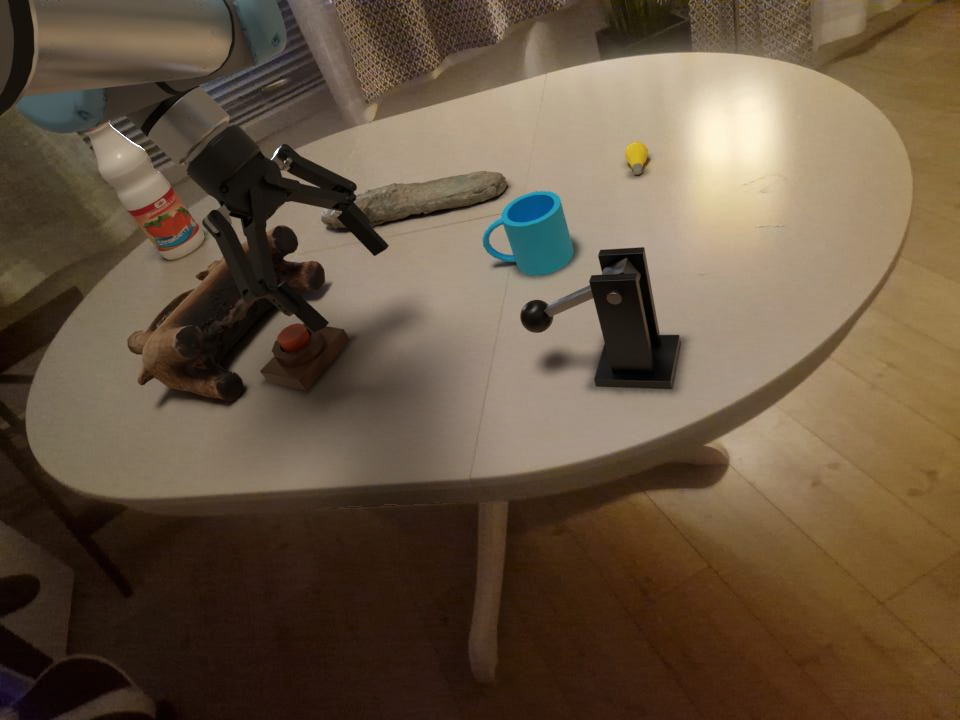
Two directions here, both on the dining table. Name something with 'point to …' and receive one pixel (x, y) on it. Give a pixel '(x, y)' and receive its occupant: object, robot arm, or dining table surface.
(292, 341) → the button
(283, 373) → the button block
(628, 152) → the light bulb
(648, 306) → the bracket
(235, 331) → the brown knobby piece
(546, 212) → the mug
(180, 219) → the fruit juice
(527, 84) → the dining table surface
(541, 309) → the lever
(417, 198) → the long grey stone
